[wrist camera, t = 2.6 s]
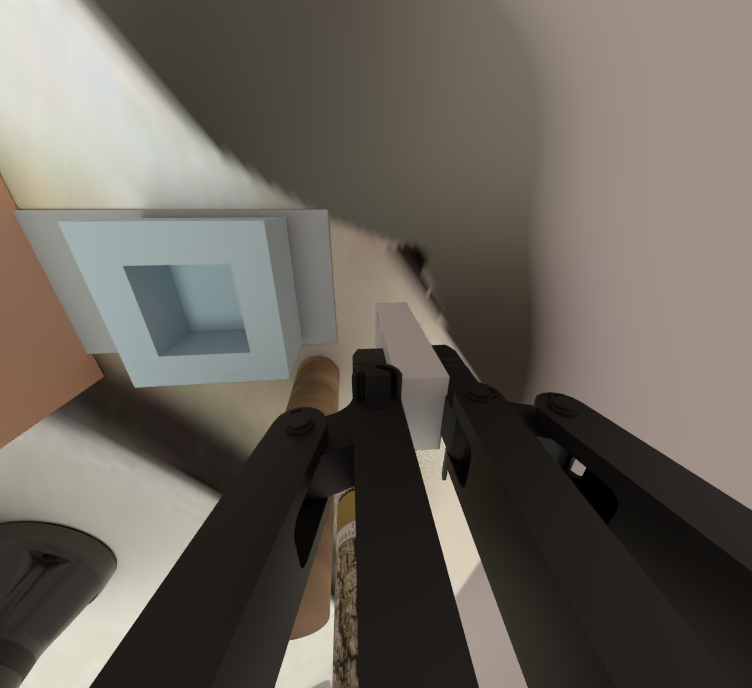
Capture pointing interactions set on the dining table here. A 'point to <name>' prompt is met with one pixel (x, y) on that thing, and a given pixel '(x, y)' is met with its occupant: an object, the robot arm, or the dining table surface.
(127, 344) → the socket block
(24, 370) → the wall
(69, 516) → the dining table surface
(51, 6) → the dining table surface
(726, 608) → the robot arm
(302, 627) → the dowel
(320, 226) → the mat
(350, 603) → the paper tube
